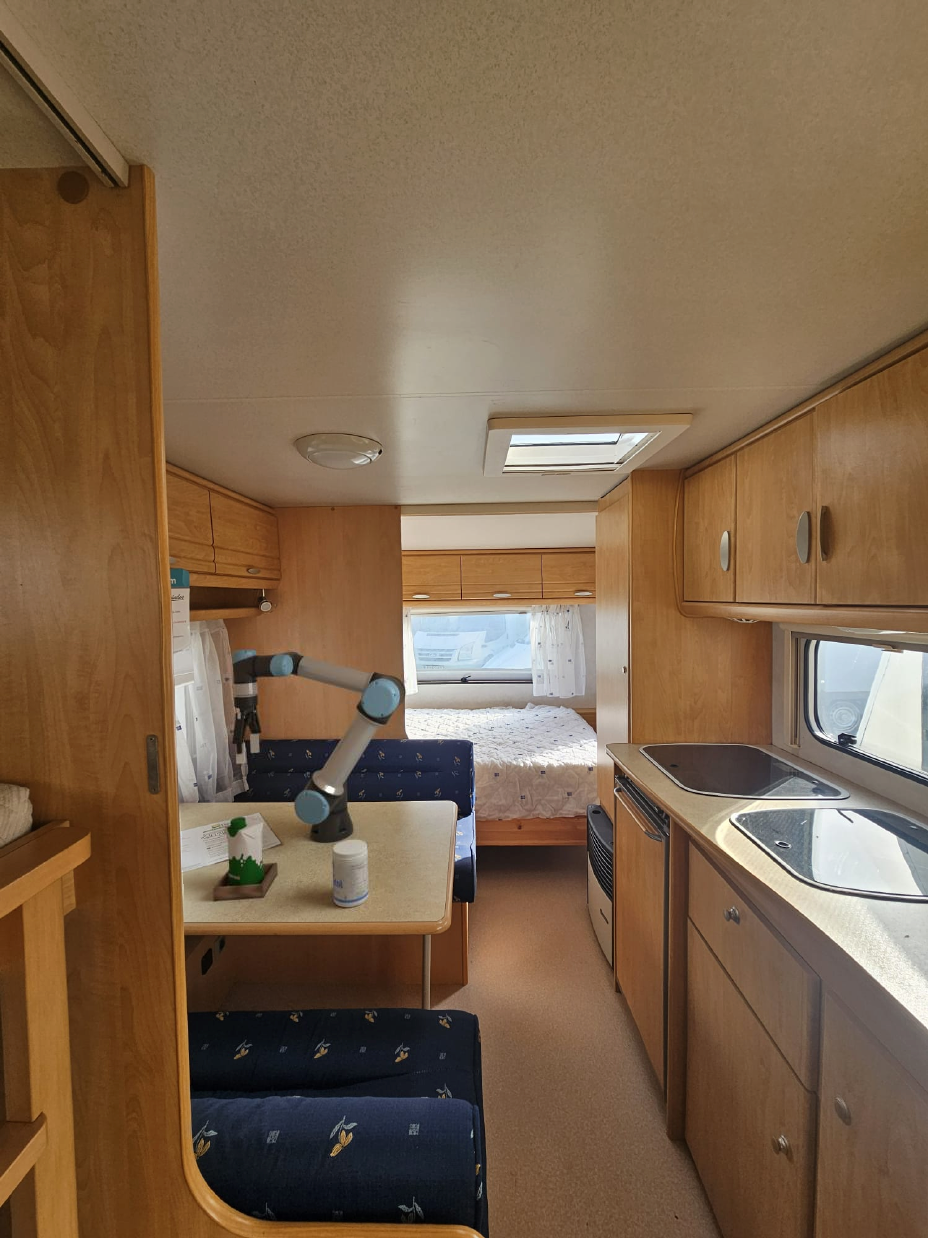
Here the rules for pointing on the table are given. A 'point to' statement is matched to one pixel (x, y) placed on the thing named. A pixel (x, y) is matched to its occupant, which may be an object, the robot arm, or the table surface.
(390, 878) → the table surface
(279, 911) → the table surface
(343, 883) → the supplement tub
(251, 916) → the table surface
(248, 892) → the tray
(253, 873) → the soya milk
